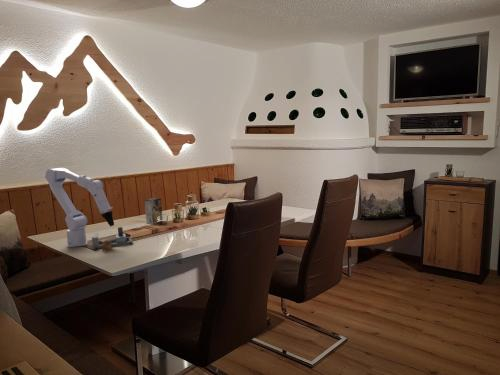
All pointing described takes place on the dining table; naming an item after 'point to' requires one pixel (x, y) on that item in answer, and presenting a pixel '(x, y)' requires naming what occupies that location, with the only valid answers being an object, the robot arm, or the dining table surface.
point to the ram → (120, 236)
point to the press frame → (96, 241)
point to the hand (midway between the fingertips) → (112, 225)
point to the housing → (106, 244)
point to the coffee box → (153, 210)
